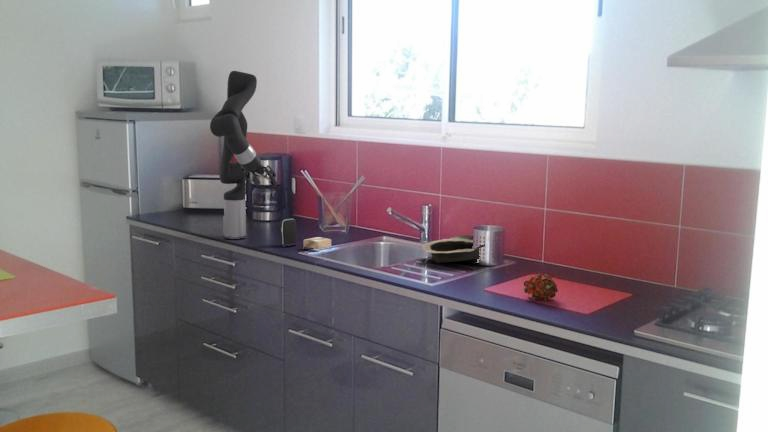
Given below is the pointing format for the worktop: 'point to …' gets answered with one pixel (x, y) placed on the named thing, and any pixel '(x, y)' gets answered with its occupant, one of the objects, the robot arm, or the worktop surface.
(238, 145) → the robot arm
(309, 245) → the oak slab
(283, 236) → the battery
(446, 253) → the stone bowl
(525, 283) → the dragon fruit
